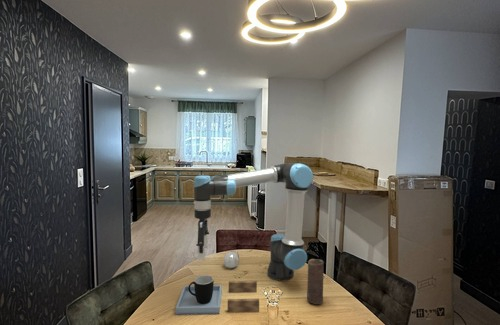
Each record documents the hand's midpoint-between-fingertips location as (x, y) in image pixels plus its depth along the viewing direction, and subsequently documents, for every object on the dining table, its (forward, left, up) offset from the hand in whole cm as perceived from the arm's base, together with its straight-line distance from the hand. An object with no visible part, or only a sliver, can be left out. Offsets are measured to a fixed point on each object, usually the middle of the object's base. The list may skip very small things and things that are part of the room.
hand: (203, 253), depth 128 cm
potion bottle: (-12, -38, -23) cm, 46 cm away
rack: (-19, +1, -23) cm, 30 cm away
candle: (-53, +3, -23) cm, 58 cm away
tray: (+1, +1, -23) cm, 23 cm away
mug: (+1, +1, -22) cm, 22 cm away
